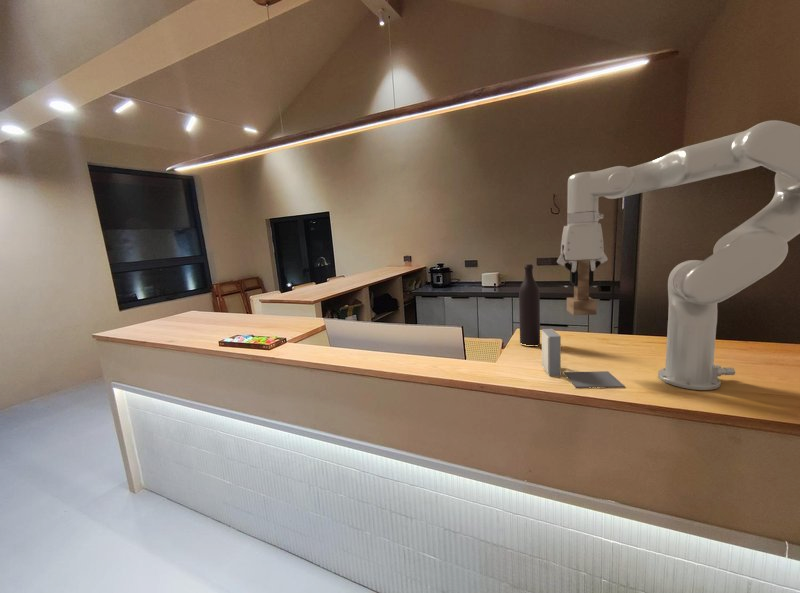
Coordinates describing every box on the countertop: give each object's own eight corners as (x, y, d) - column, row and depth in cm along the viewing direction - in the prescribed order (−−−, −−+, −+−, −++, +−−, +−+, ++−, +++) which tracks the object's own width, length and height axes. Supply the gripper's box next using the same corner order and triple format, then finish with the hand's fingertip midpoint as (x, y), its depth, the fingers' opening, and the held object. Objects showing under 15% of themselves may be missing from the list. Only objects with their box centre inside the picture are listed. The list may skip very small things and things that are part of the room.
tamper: (588, 309, 102) (589, 255, 99) (596, 314, 96) (597, 257, 93) (566, 310, 103) (567, 257, 100) (573, 315, 97) (574, 258, 94)
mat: (608, 372, 99) (608, 371, 99) (624, 387, 89) (624, 386, 89) (563, 373, 101) (563, 371, 101) (575, 388, 91) (575, 386, 91)
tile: (552, 365, 107) (552, 328, 105) (560, 376, 99) (560, 336, 97) (541, 366, 108) (541, 329, 106) (548, 376, 100) (548, 336, 98)
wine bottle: (543, 343, 129) (542, 263, 124) (535, 348, 124) (534, 265, 119) (524, 340, 134) (523, 263, 129) (516, 345, 129) (515, 265, 124)
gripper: (608, 217, 97) (606, 281, 100) (547, 222, 100) (547, 284, 103) (621, 216, 90) (618, 285, 93) (555, 221, 93) (554, 288, 96)
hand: (581, 284), depth 98 cm, fingers closed on tamper, 3 cm apart
